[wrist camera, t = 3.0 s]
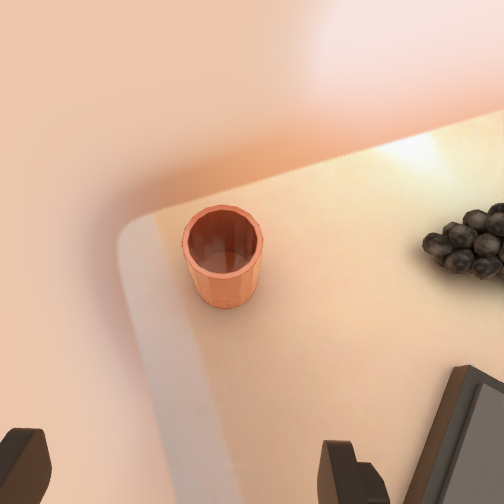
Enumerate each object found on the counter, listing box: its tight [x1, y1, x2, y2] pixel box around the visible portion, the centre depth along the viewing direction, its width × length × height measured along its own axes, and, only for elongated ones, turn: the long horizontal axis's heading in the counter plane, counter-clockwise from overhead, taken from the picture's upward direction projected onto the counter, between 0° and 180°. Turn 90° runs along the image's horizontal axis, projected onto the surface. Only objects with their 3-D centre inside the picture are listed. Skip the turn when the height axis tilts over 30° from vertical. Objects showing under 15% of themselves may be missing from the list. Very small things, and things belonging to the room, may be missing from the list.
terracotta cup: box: [182, 205, 263, 309], centre depth 30 cm, size 5×5×8 cm
